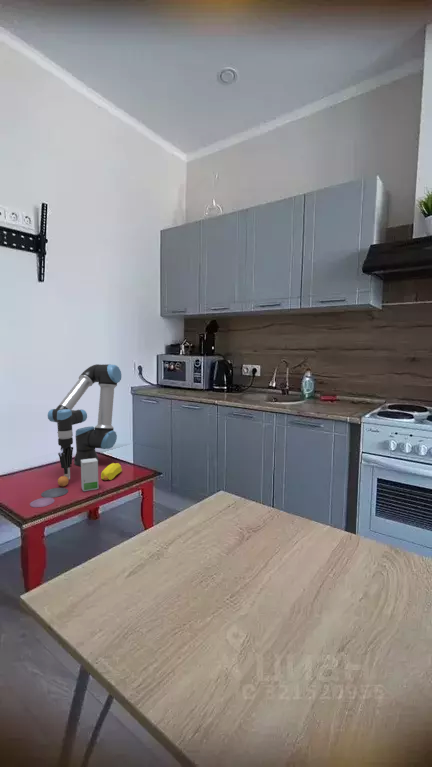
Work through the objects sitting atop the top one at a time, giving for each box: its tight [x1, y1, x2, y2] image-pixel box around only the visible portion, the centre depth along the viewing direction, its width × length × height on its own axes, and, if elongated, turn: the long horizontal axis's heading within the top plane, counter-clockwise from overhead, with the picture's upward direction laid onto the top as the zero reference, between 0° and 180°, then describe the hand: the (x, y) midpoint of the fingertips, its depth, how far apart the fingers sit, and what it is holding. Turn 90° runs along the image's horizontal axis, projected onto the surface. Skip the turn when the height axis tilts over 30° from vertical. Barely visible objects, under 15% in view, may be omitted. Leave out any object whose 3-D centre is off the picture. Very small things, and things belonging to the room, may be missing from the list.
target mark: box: [40, 487, 69, 499], centre depth 193 cm, size 13×13×1 cm
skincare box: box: [80, 458, 99, 492], centre depth 198 cm, size 8×7×16 cm
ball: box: [57, 475, 70, 487], centre depth 202 cm, size 6×6×6 cm
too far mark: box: [29, 497, 55, 508], centre depth 181 cm, size 11×11×1 cm
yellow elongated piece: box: [100, 462, 123, 481], centre depth 217 cm, size 18×7×8 cm
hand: (67, 478), depth 207 cm, fingers closed
